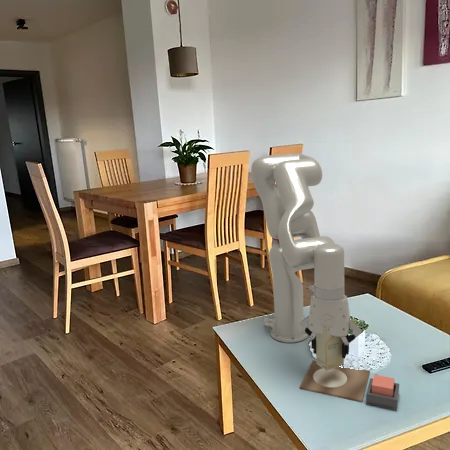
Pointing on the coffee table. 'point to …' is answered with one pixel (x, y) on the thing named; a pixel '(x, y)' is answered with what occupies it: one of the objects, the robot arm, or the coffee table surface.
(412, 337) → the coffee table surface
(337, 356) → the skincare box
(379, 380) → the button
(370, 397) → the button housing
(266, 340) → the coffee table surface
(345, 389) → the board
